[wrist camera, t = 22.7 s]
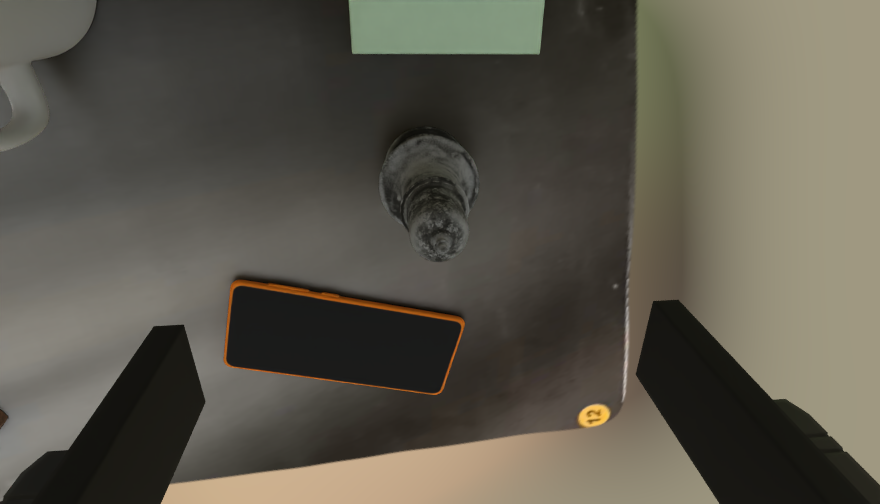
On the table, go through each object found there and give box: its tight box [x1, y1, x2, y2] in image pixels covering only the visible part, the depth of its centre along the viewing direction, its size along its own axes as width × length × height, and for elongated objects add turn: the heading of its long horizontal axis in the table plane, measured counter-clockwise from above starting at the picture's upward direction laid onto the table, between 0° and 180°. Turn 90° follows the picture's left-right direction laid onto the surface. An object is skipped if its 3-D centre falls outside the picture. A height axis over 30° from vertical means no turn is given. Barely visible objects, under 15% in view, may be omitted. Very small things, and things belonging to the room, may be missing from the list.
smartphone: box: [224, 280, 465, 395], centre depth 37 cm, size 8×17×1 cm, turn 75°
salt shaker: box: [379, 126, 480, 262], centre depth 27 cm, size 6×6×12 cm
